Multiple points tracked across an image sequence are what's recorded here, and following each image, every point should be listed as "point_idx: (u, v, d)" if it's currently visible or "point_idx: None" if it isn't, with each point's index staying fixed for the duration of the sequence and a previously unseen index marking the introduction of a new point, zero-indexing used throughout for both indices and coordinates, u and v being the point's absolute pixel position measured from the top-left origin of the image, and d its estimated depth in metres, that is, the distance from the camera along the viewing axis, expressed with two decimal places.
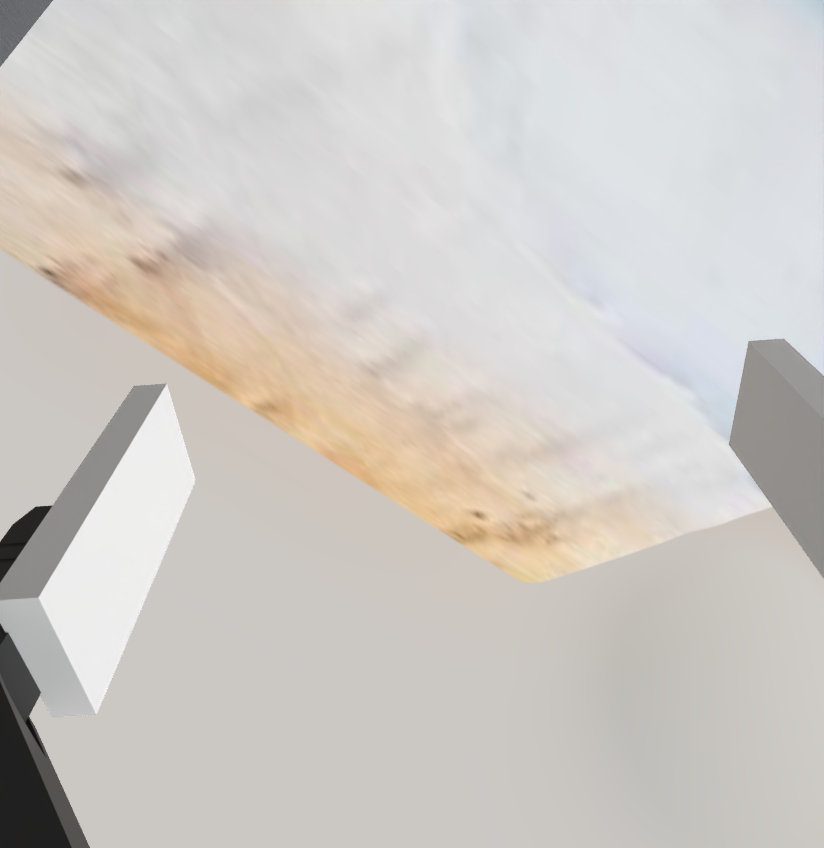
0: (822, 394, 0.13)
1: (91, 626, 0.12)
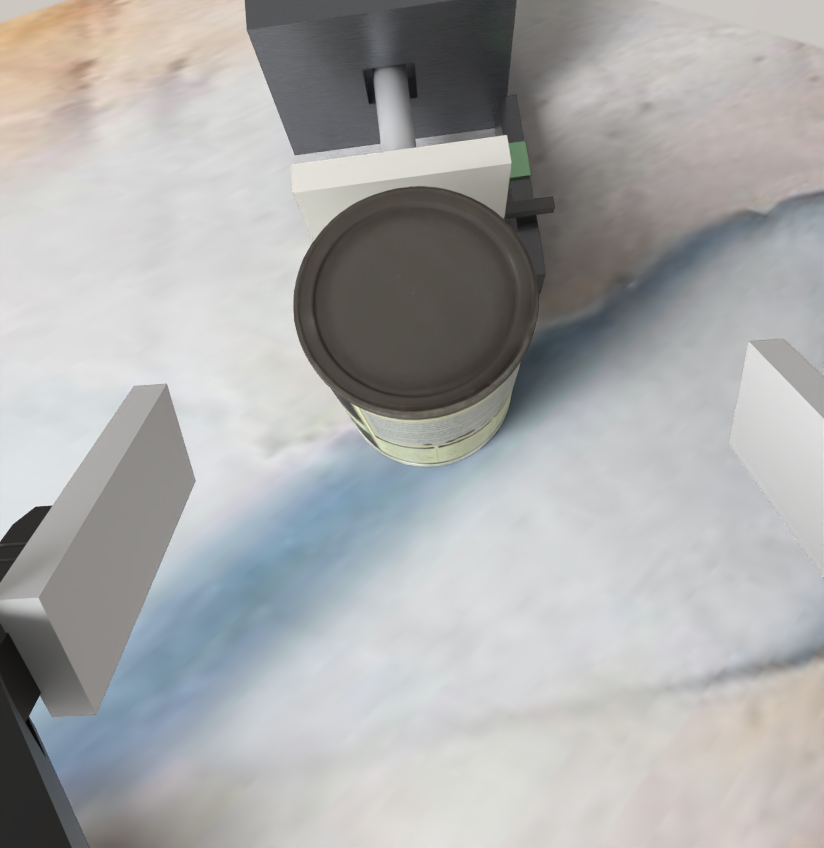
0: (822, 394, 0.13)
1: (91, 626, 0.12)
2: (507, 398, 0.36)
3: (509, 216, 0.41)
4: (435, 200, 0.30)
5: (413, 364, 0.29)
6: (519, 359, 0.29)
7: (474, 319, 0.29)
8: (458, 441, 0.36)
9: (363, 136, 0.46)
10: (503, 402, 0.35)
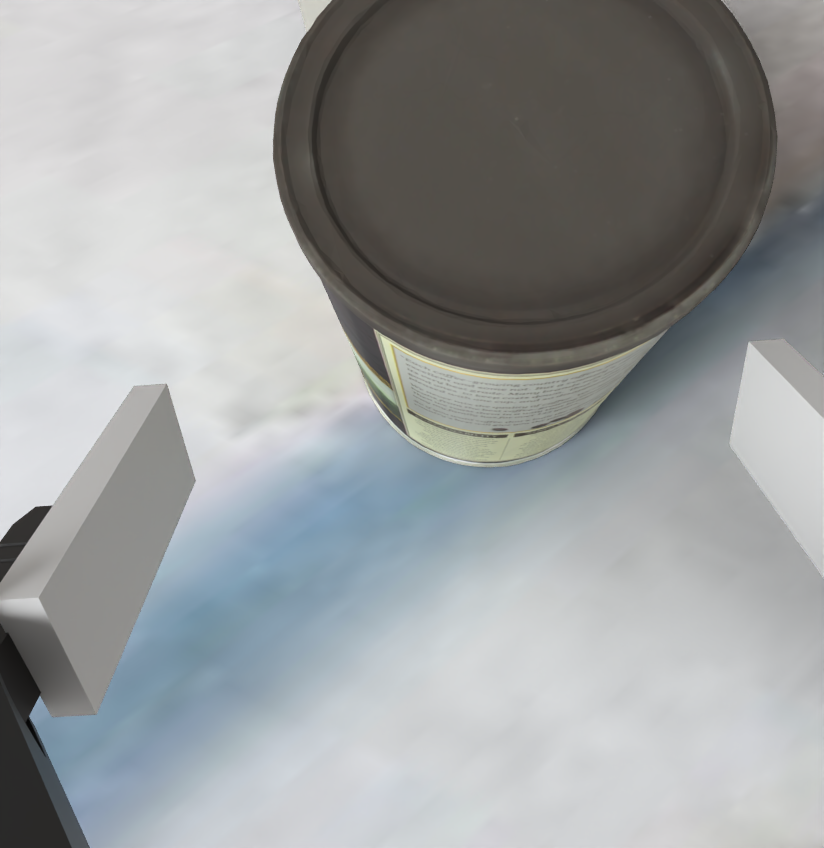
0: (822, 394, 0.13)
1: (91, 626, 0.12)
2: None
3: None
4: None
5: (512, 257, 0.14)
6: (737, 258, 0.14)
7: (641, 174, 0.14)
8: (548, 428, 0.21)
9: None
10: None
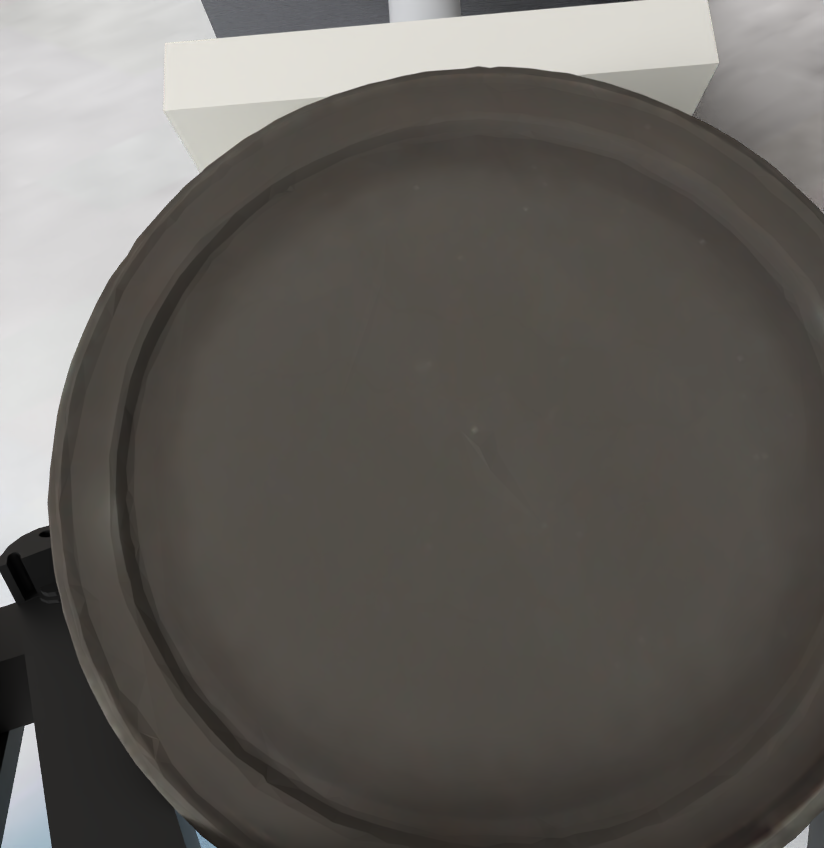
0: None
1: None
2: None
3: None
4: (560, 114, 0.09)
5: (468, 710, 0.08)
6: None
7: (698, 543, 0.08)
8: None
9: None
10: None
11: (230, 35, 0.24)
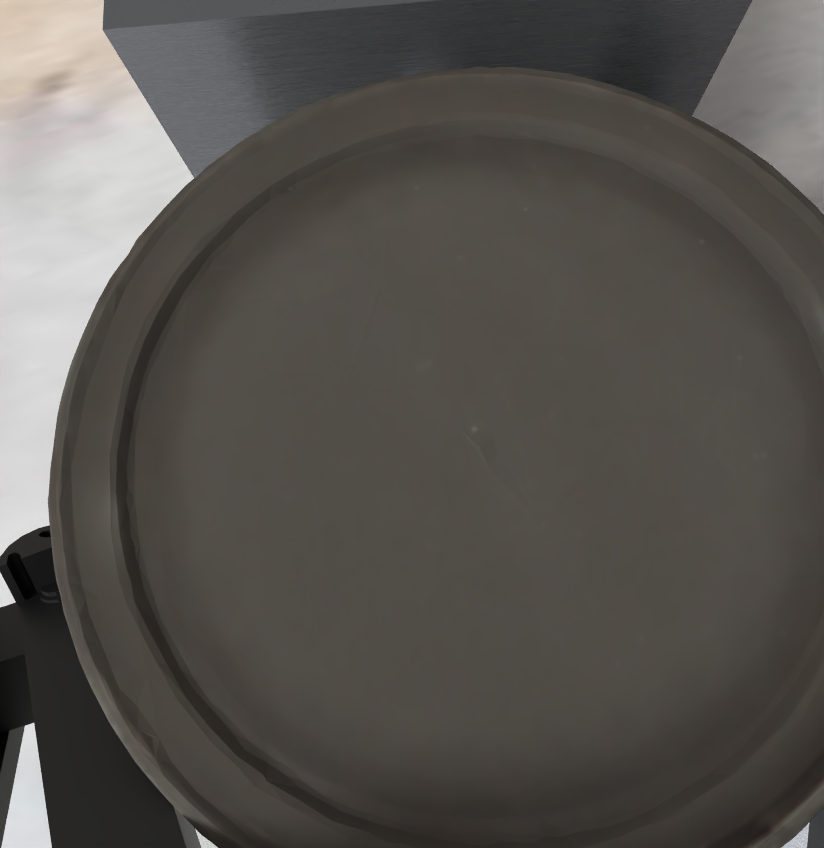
0: None
1: None
2: None
3: None
4: (560, 114, 0.09)
5: (467, 708, 0.08)
6: None
7: (698, 543, 0.08)
8: None
9: None
10: None
11: None
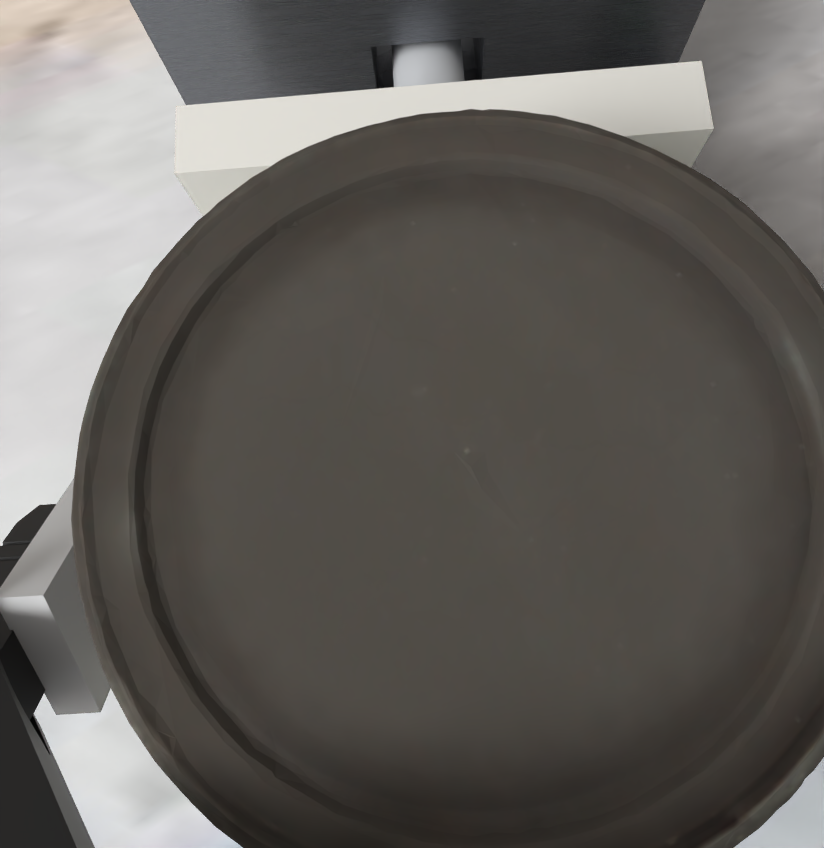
0: None
1: None
2: None
3: None
4: (547, 154, 0.10)
5: (460, 710, 0.08)
6: None
7: (673, 556, 0.09)
8: None
9: None
10: None
11: None
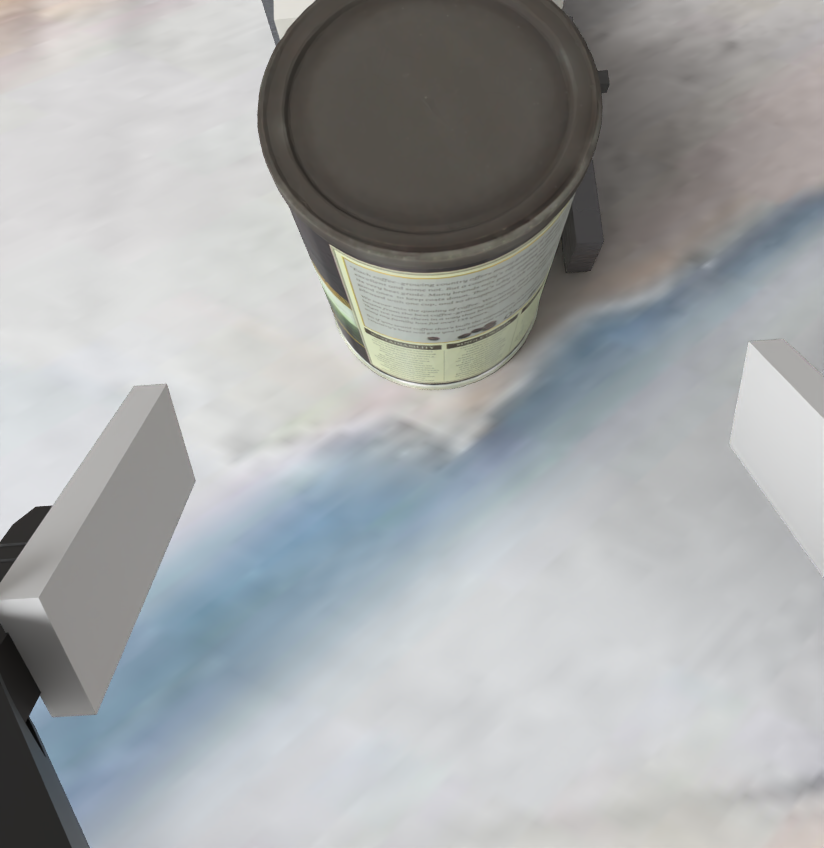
0: (822, 394, 0.13)
1: (91, 626, 0.12)
2: (540, 287, 0.28)
3: None
4: None
5: (422, 191, 0.20)
6: (572, 188, 0.20)
7: (510, 133, 0.21)
8: (473, 341, 0.28)
9: None
10: (535, 289, 0.27)
11: None
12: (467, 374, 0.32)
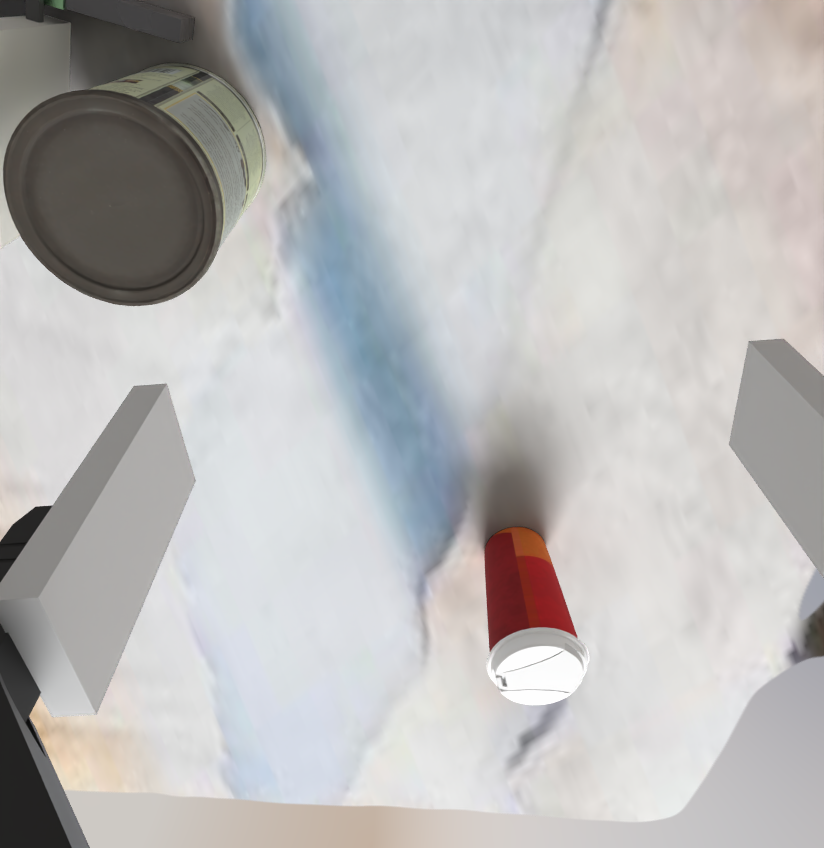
0: (822, 394, 0.13)
1: (91, 626, 0.12)
2: (220, 114, 0.39)
3: (41, 14, 0.39)
4: (20, 153, 0.33)
5: (174, 229, 0.35)
6: (190, 143, 0.33)
7: (144, 164, 0.33)
8: (247, 171, 0.41)
9: None
10: (223, 123, 0.39)
11: None
12: (260, 157, 0.45)
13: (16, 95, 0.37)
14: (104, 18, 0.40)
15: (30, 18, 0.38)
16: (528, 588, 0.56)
